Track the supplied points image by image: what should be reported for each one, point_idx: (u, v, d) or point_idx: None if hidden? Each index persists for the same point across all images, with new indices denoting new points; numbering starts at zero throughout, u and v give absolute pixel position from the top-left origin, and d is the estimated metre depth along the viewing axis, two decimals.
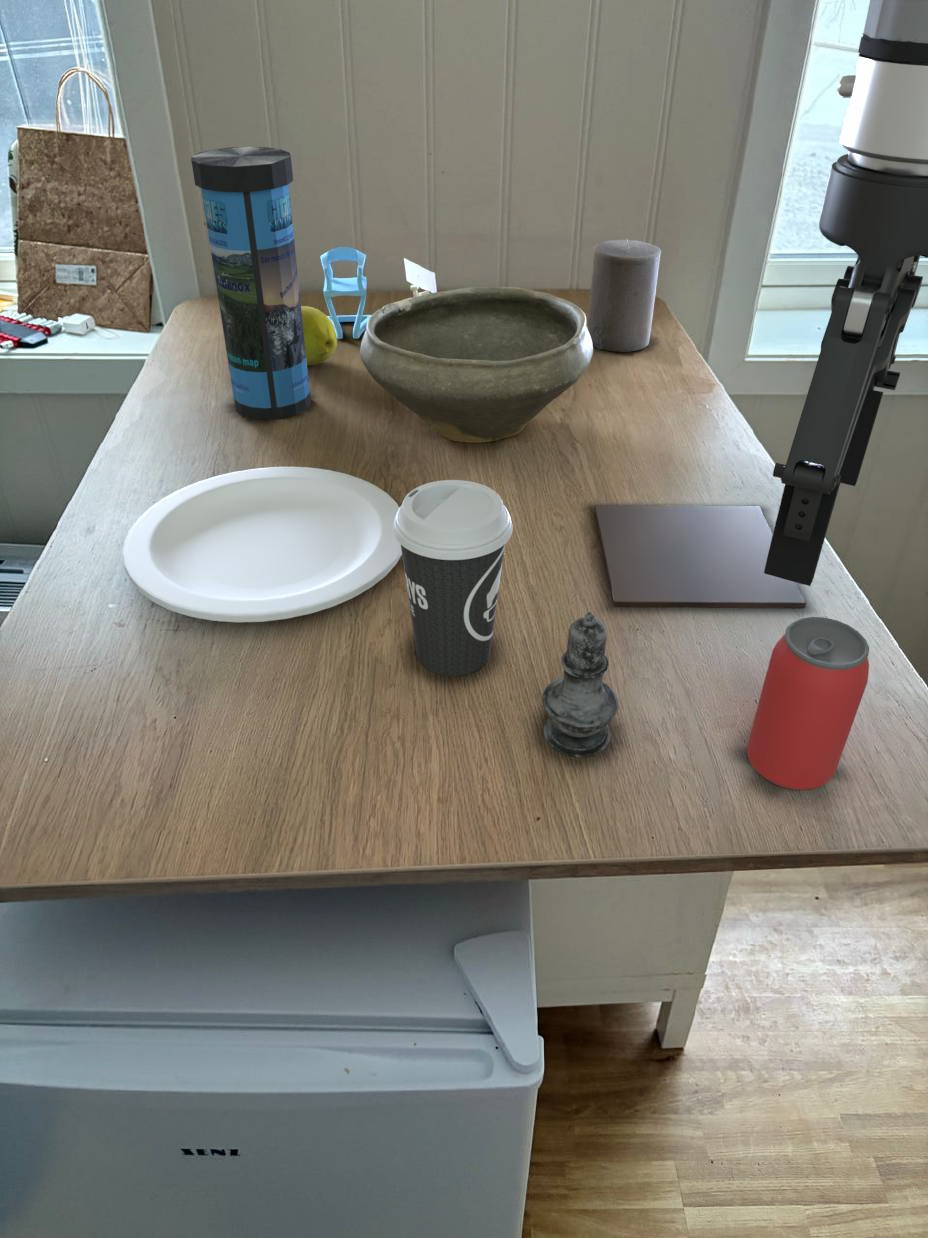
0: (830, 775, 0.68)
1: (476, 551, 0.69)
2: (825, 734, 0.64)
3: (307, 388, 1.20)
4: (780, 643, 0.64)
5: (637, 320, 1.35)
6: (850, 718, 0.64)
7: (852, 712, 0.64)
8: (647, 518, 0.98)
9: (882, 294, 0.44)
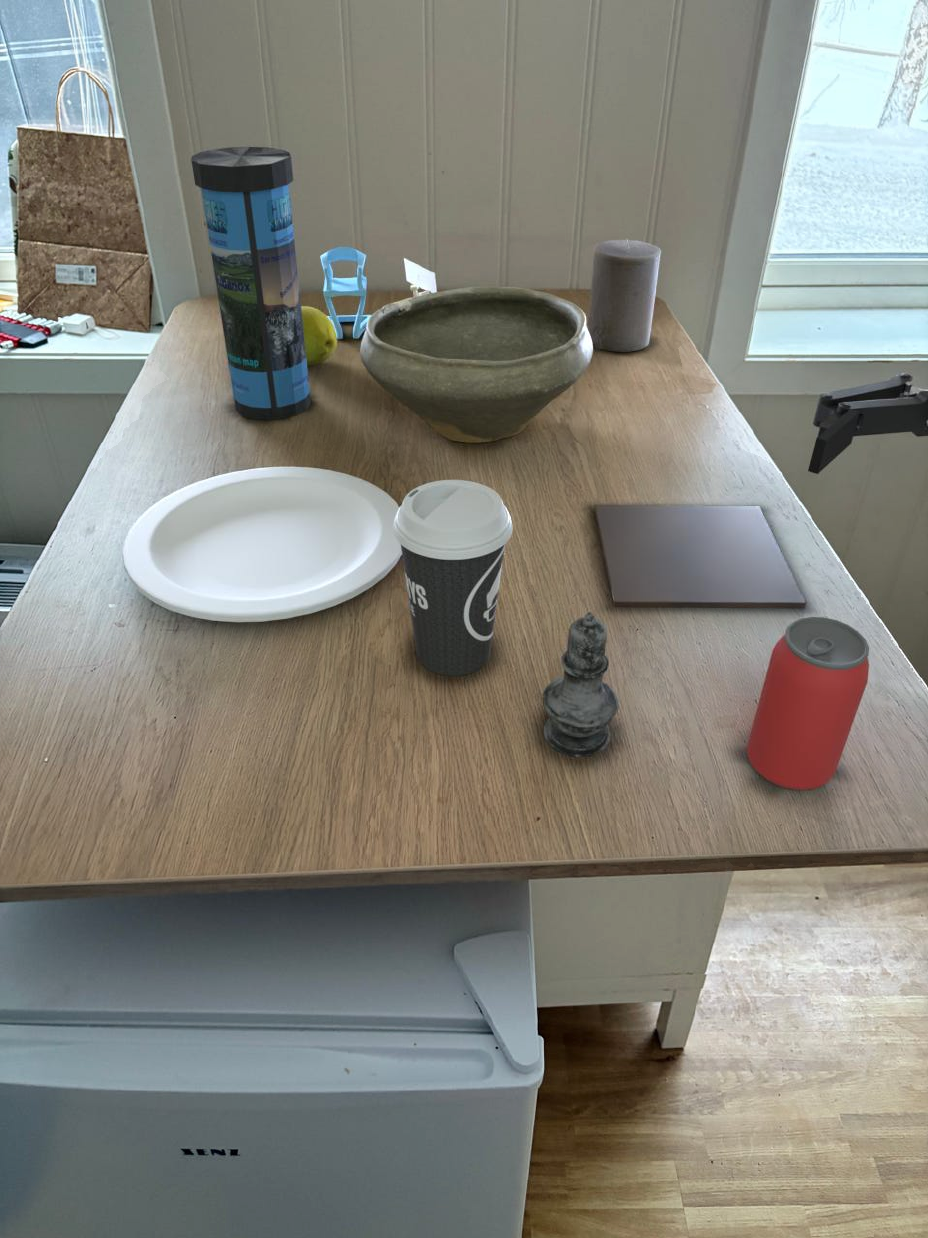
0: (830, 775, 0.68)
1: (476, 550, 0.69)
2: (825, 734, 0.64)
3: (307, 388, 1.20)
4: (780, 643, 0.64)
5: (637, 320, 1.35)
6: (850, 718, 0.64)
7: (852, 712, 0.64)
8: (647, 518, 0.98)
9: None
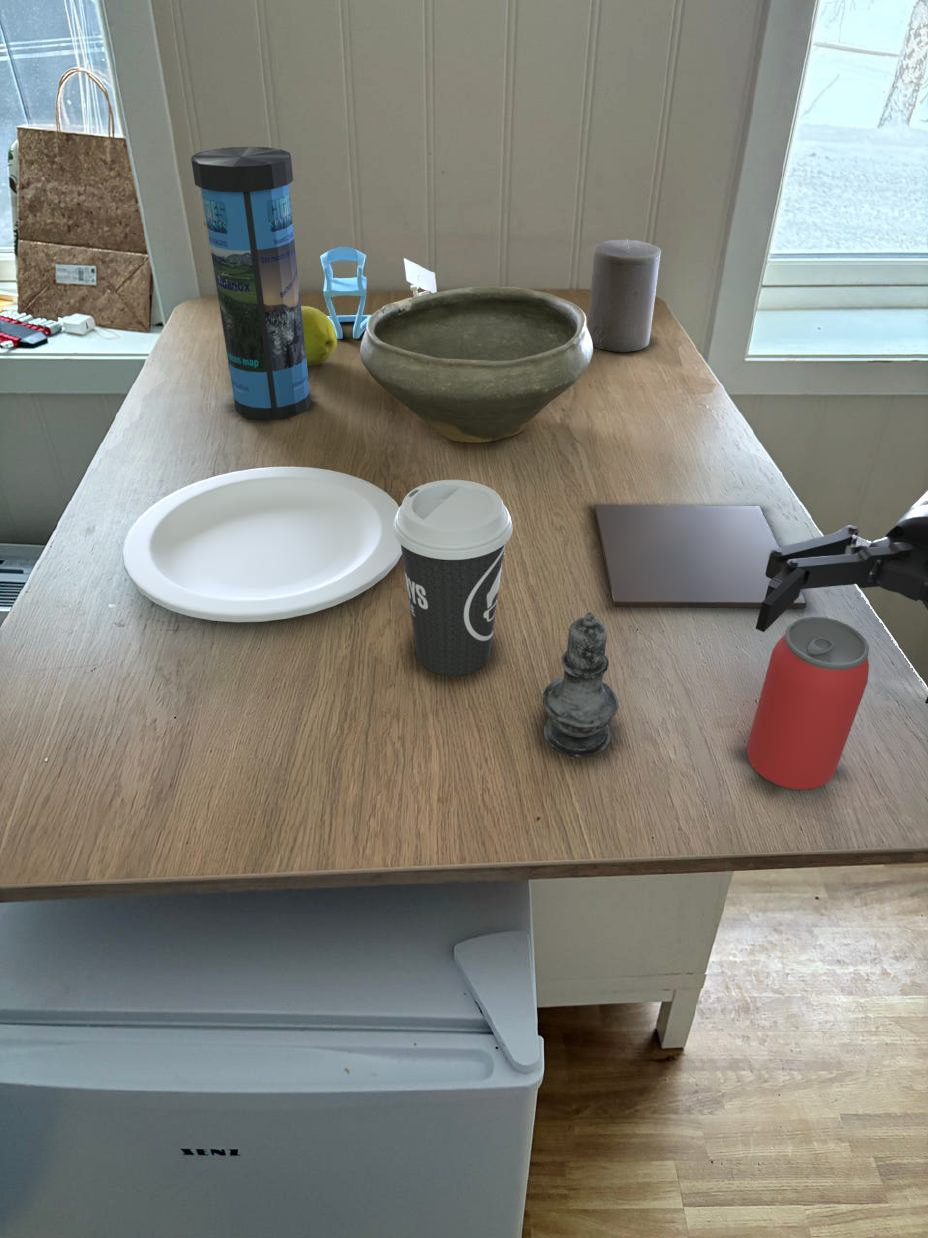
0: (830, 775, 0.68)
1: (476, 550, 0.69)
2: (825, 734, 0.64)
3: (307, 388, 1.20)
4: (780, 643, 0.64)
5: (637, 320, 1.35)
6: (850, 718, 0.64)
7: (852, 712, 0.64)
8: (647, 518, 0.98)
9: None
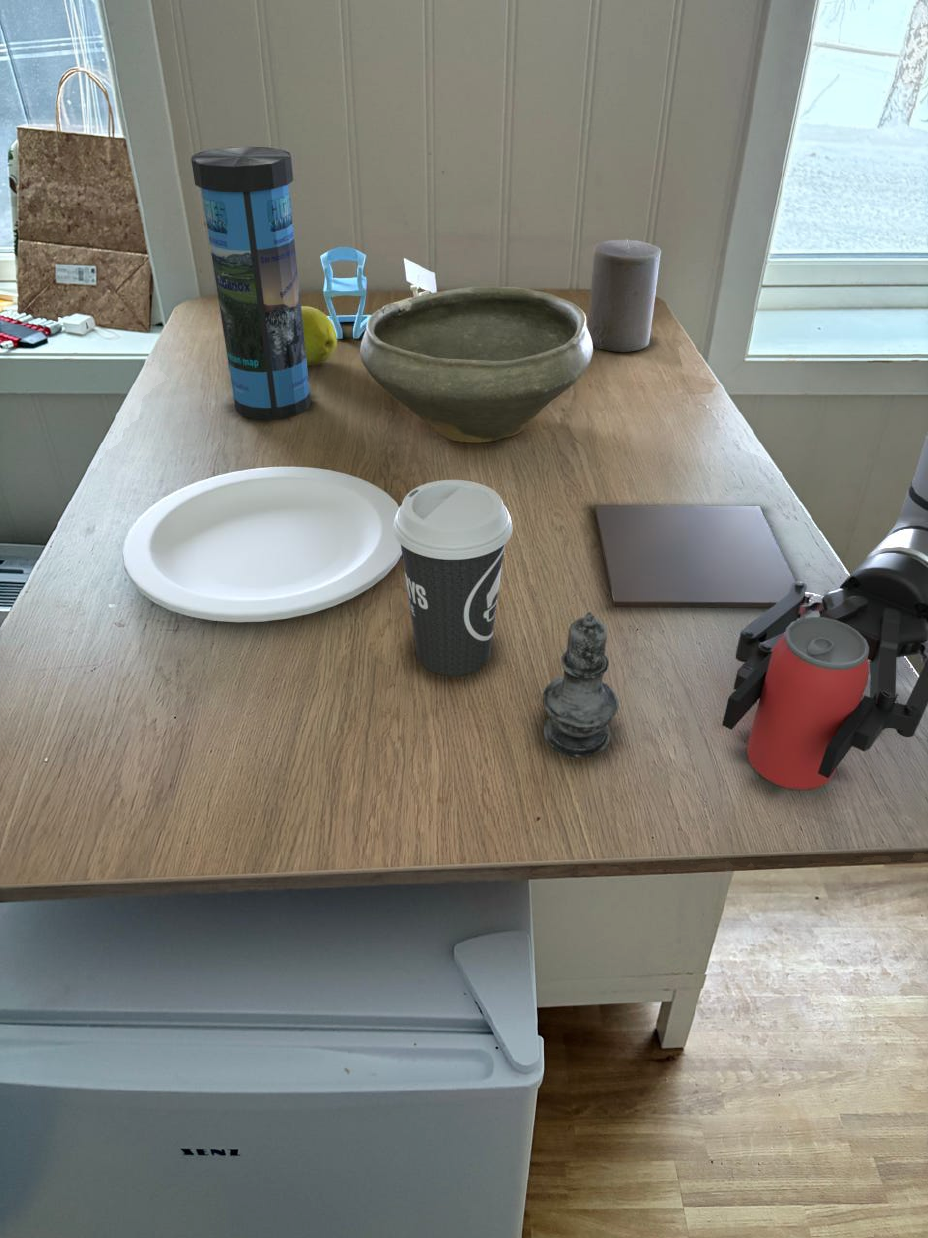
0: None
1: (476, 550, 0.69)
2: (825, 734, 0.64)
3: (307, 388, 1.20)
4: (780, 643, 0.64)
5: (637, 320, 1.35)
6: None
7: None
8: (647, 518, 0.98)
9: None
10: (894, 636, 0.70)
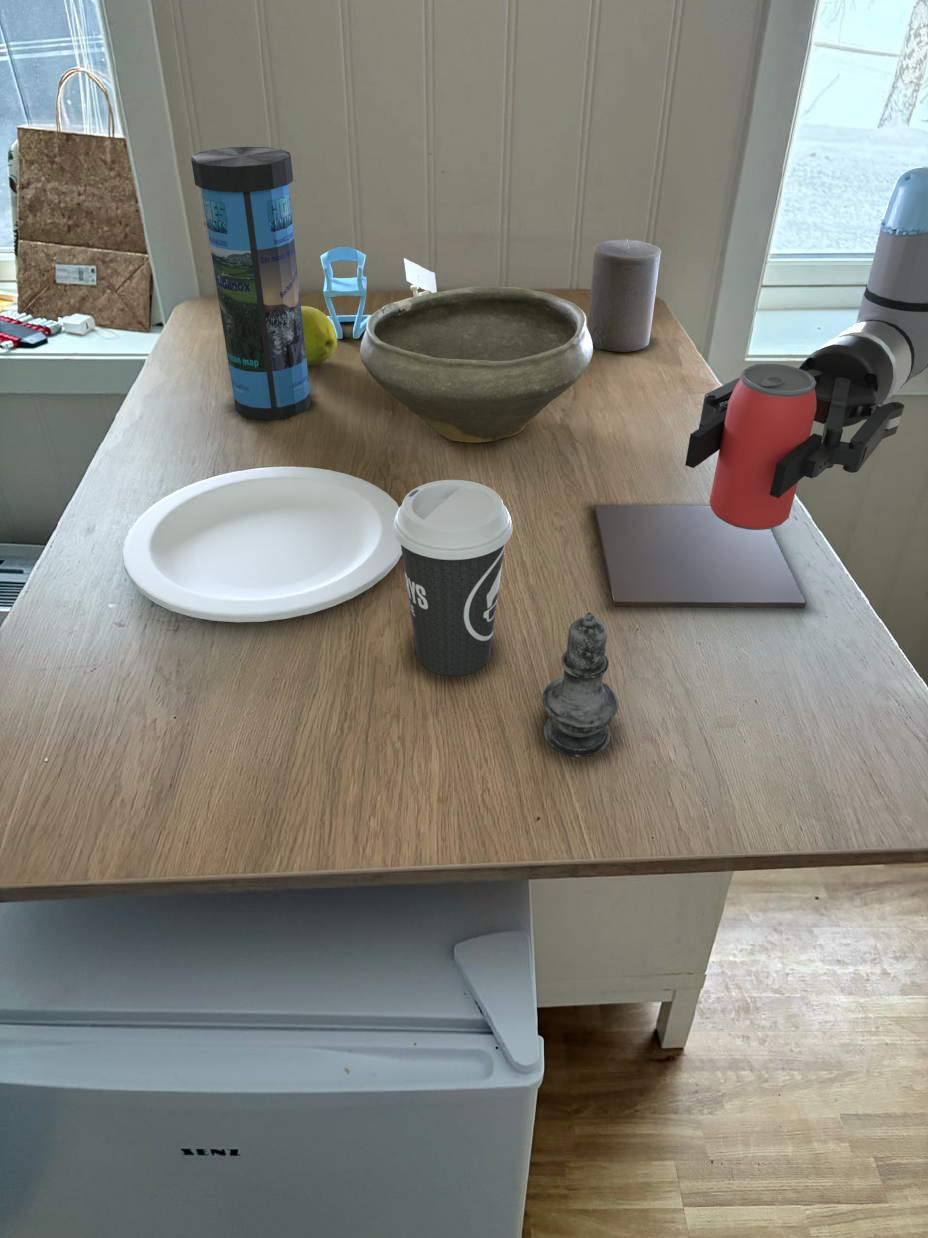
0: (784, 515, 0.74)
1: (476, 550, 0.69)
2: None
3: (307, 388, 1.20)
4: (737, 384, 0.71)
5: (637, 320, 1.35)
6: None
7: None
8: (647, 518, 0.98)
9: None
10: (843, 395, 0.77)
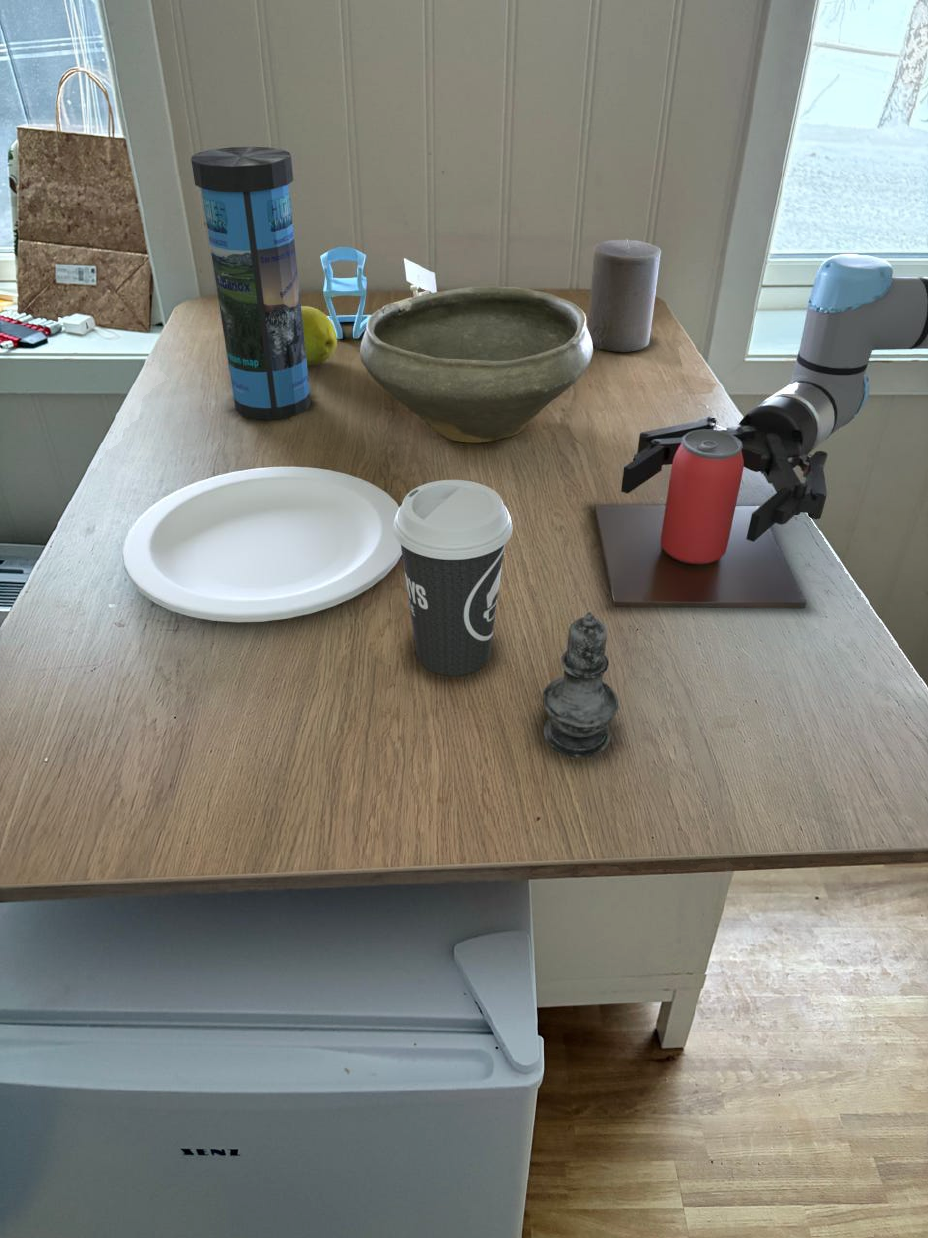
0: (720, 552, 0.90)
1: (476, 550, 0.69)
2: (712, 513, 0.87)
3: (307, 388, 1.20)
4: (679, 447, 0.87)
5: (637, 320, 1.35)
6: (730, 501, 0.87)
7: (731, 496, 0.86)
8: (647, 518, 0.98)
9: None
10: (782, 450, 0.92)
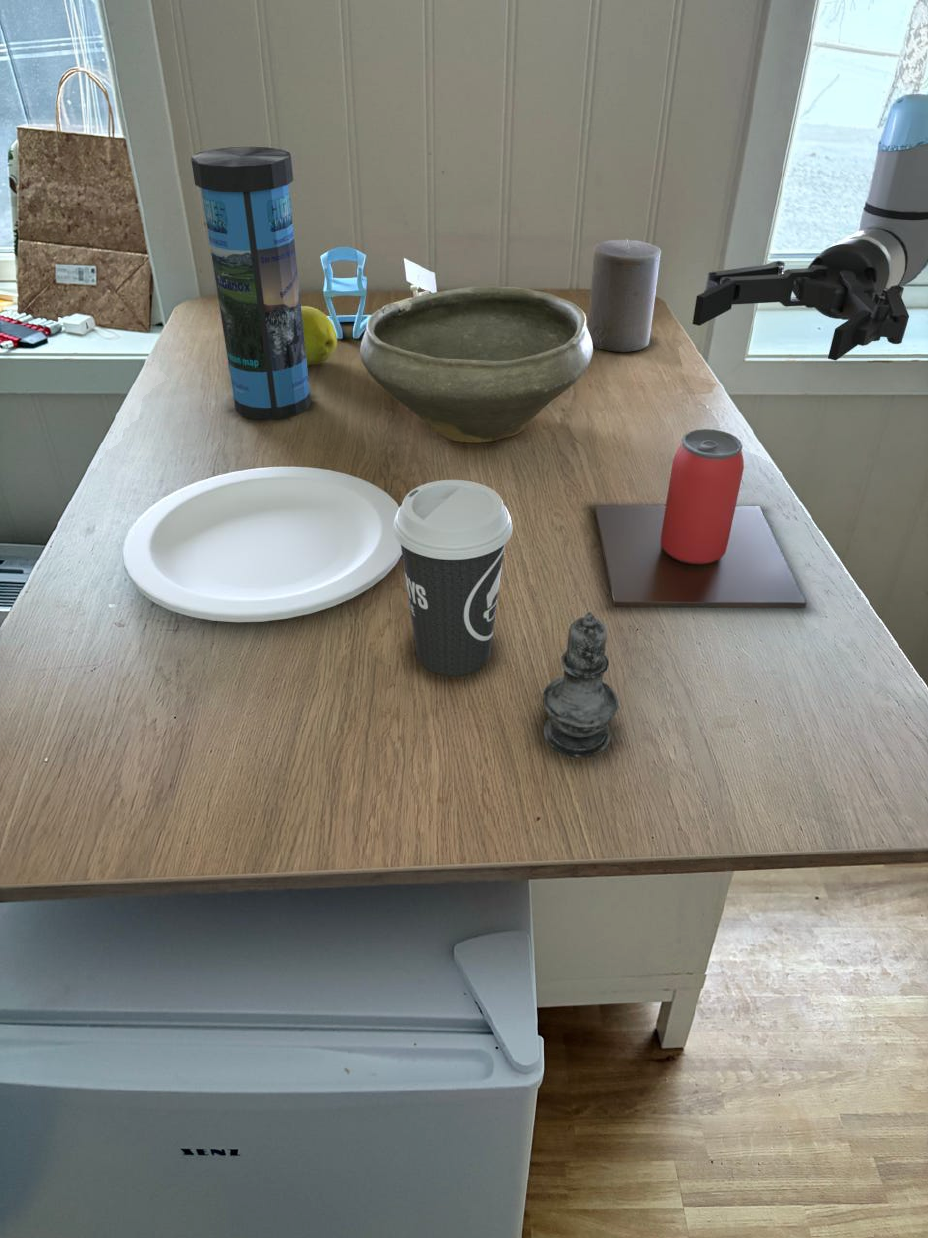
0: (720, 552, 0.90)
1: (476, 550, 0.69)
2: (712, 513, 0.87)
3: (307, 388, 1.20)
4: None
5: (637, 320, 1.35)
6: (730, 501, 0.87)
7: (731, 496, 0.86)
8: (647, 518, 0.98)
9: None
10: (857, 283, 0.90)
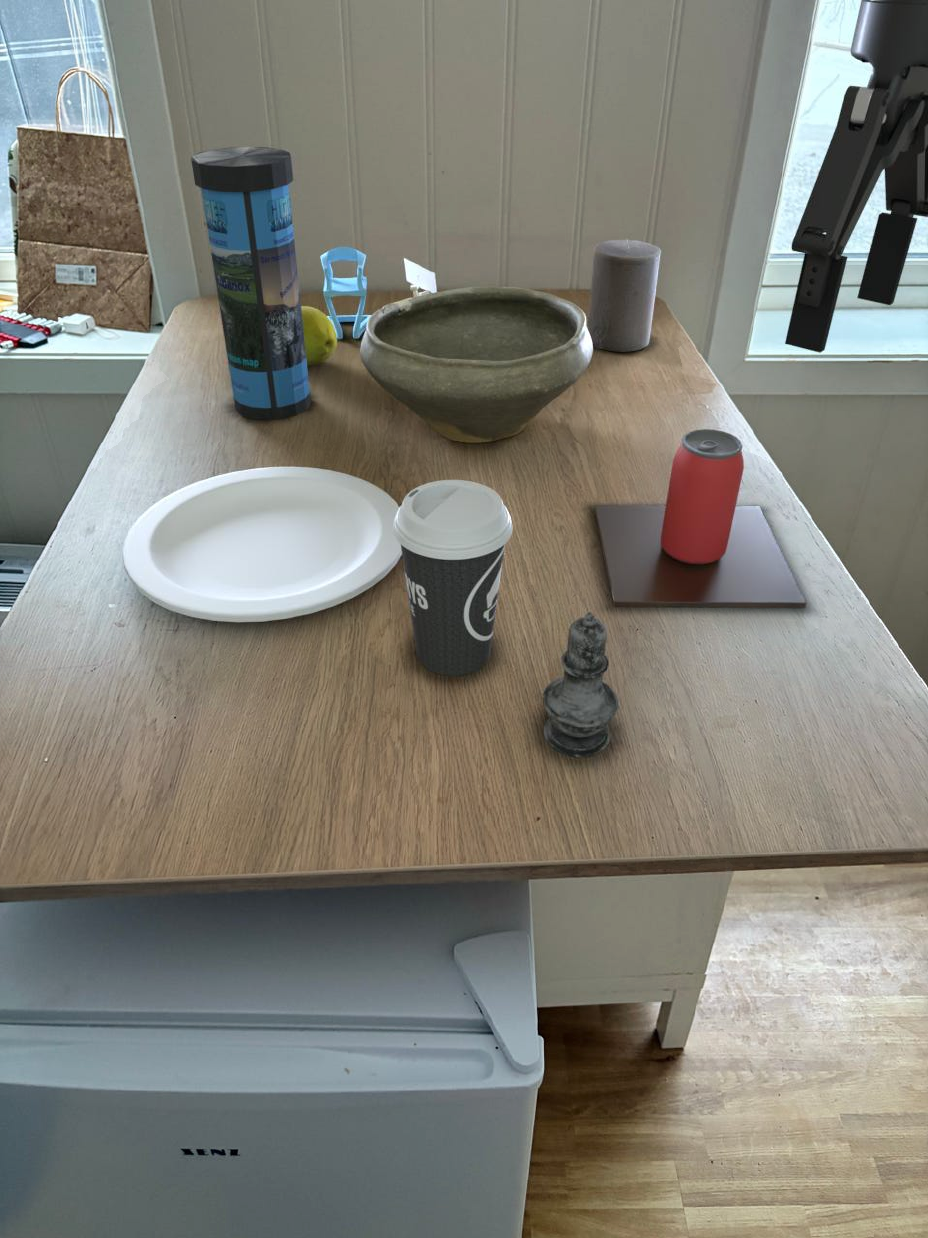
0: (720, 552, 0.90)
1: (476, 550, 0.69)
2: (712, 513, 0.87)
3: (307, 388, 1.20)
4: None
5: (637, 320, 1.35)
6: (730, 501, 0.87)
7: (731, 496, 0.86)
8: (647, 518, 0.98)
9: (881, 89, 0.57)
10: None
